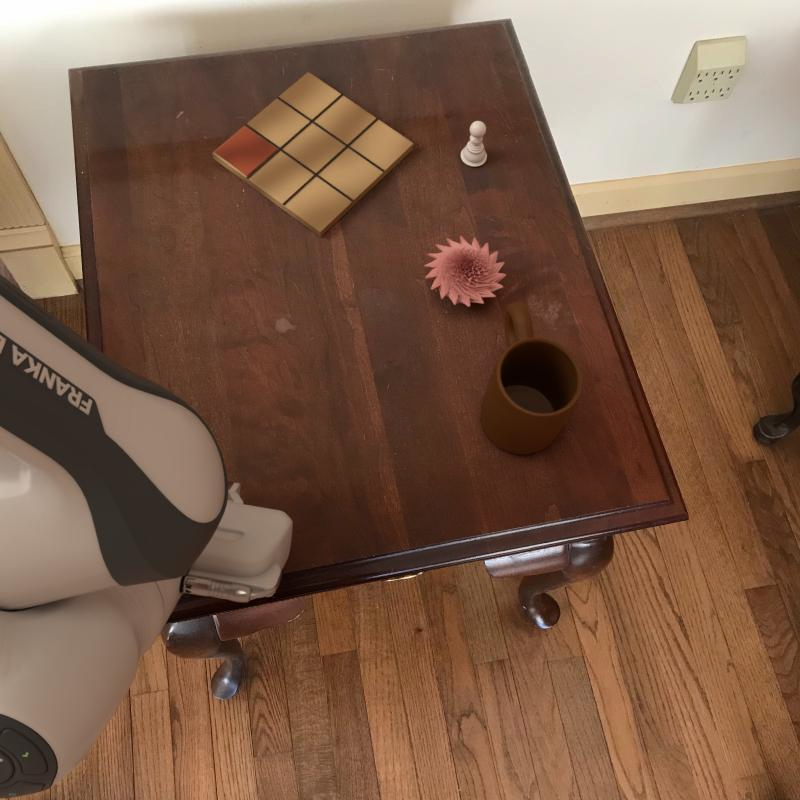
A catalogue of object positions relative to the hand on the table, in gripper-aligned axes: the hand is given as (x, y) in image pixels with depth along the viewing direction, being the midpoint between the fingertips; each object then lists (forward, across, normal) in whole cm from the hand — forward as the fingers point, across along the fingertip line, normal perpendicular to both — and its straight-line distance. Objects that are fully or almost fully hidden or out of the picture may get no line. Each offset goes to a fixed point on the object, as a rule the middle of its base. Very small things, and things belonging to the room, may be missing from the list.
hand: (182, 481), depth 67 cm
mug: (+16, -26, -6) cm, 31 cm away
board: (+33, -2, -23) cm, 40 cm away
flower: (+23, -20, -14) cm, 33 cm away
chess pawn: (+35, -19, -25) cm, 47 cm away
